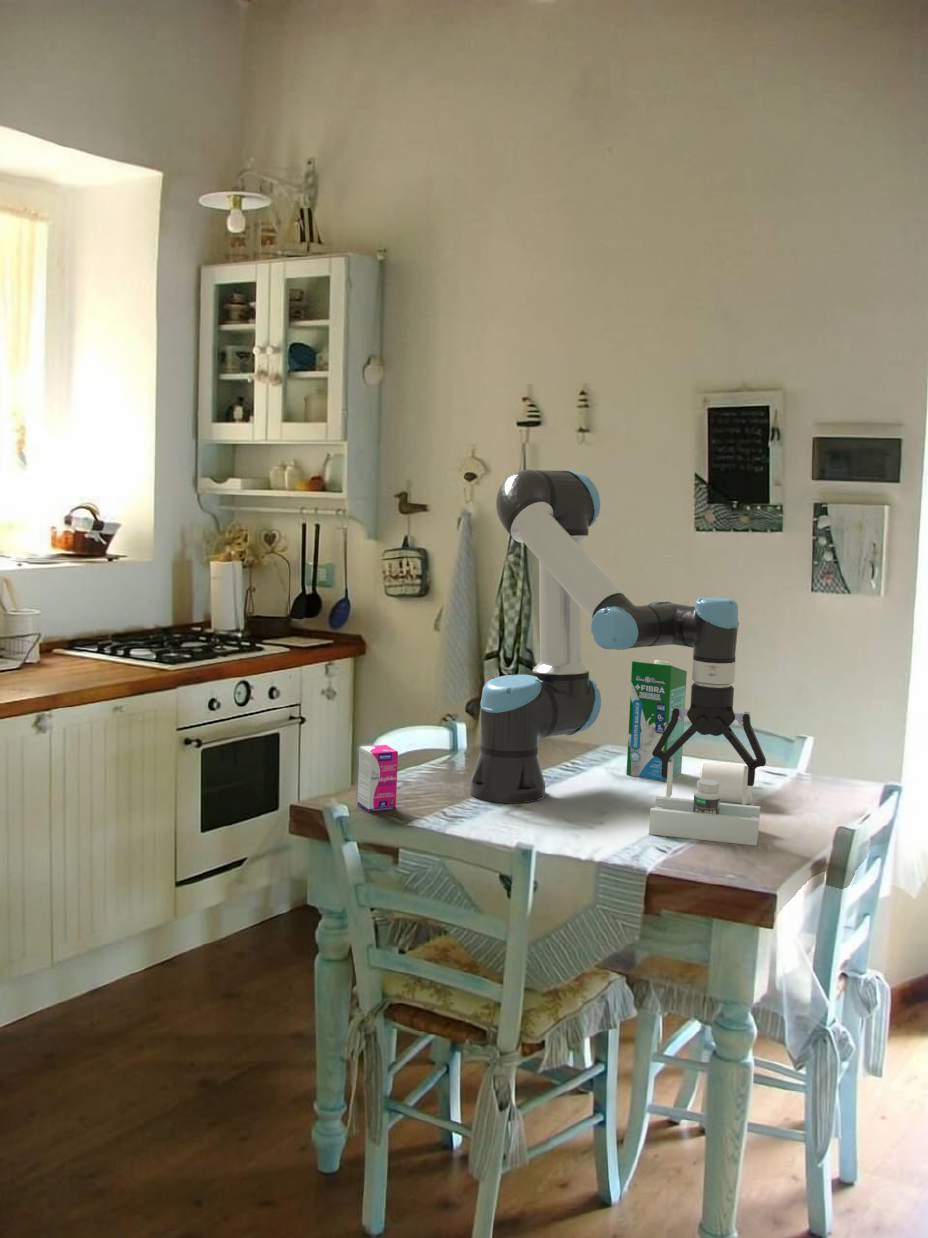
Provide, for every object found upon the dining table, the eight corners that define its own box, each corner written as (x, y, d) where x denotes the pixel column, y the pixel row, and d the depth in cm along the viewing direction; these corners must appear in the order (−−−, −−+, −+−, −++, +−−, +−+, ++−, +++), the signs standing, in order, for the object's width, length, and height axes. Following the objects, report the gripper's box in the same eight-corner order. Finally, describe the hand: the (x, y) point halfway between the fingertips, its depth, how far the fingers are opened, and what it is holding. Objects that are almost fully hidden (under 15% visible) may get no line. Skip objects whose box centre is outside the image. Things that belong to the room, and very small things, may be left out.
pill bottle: (689, 828, 224) (692, 783, 223) (694, 822, 228) (697, 777, 227) (716, 832, 222) (718, 786, 221) (720, 825, 227) (723, 780, 226)
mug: (750, 809, 243) (753, 769, 242) (699, 804, 245) (701, 765, 244) (749, 794, 254) (751, 756, 253) (700, 790, 256) (702, 752, 255)
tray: (648, 834, 223) (650, 809, 223) (655, 819, 233) (656, 796, 232) (756, 845, 218) (758, 821, 218) (758, 830, 228) (760, 806, 227)
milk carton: (681, 773, 269) (687, 660, 266) (664, 781, 262) (671, 665, 259) (643, 767, 274) (649, 655, 271) (626, 774, 267) (631, 660, 264)
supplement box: (368, 812, 231) (370, 752, 230) (356, 804, 237) (358, 746, 235) (397, 809, 234) (398, 750, 233) (384, 801, 239) (385, 743, 238)
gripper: (641, 681, 222) (635, 797, 224) (783, 692, 215) (776, 811, 218) (646, 675, 229) (640, 787, 232) (784, 685, 223) (777, 800, 225)
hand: (706, 799), depth 225 cm, fingers open, 13 cm apart
